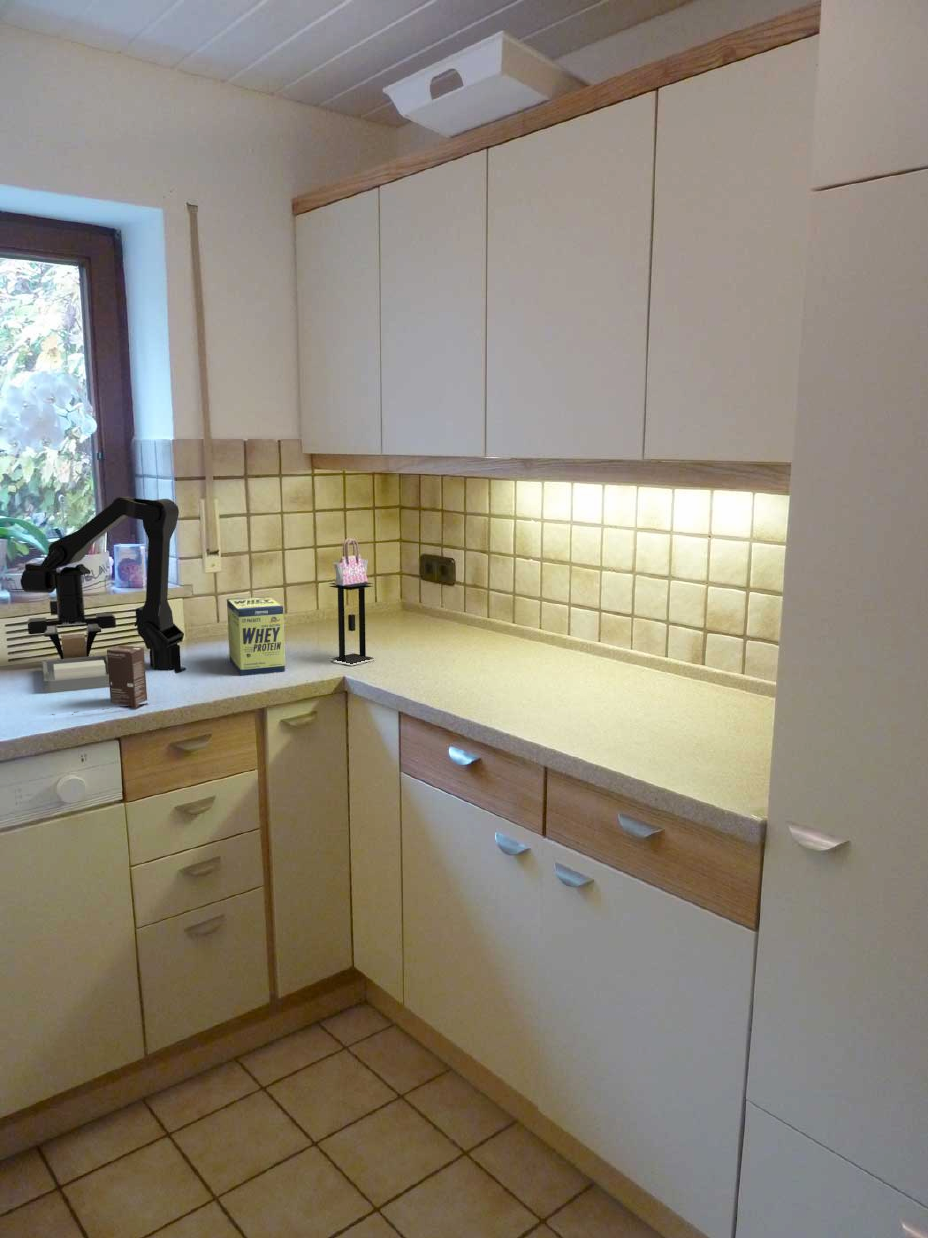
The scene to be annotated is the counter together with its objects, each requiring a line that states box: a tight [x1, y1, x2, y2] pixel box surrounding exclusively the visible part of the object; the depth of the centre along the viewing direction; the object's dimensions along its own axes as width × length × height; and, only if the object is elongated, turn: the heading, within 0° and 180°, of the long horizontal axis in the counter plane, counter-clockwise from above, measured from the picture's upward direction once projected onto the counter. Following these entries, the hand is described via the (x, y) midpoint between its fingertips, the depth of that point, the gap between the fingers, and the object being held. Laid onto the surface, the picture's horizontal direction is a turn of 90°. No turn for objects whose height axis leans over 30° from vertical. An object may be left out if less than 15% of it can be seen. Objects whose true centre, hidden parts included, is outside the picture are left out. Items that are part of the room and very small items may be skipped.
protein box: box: [226, 596, 286, 677], centre depth 218 cm, size 10×16×16 cm
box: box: [106, 644, 148, 710], centre depth 186 cm, size 6×4×12 cm
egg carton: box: [53, 660, 106, 680], centre depth 198 cm, size 5×10×4 cm, turn 115°
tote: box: [42, 654, 110, 695], centre depth 204 cm, size 20×14×4 cm
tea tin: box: [60, 633, 87, 659], centre depth 216 cm, size 5×5×7 cm
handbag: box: [328, 538, 375, 664], centre depth 222 cm, size 10×8×30 cm
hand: (74, 659), depth 217 cm, fingers closed on tea tin, 5 cm apart
